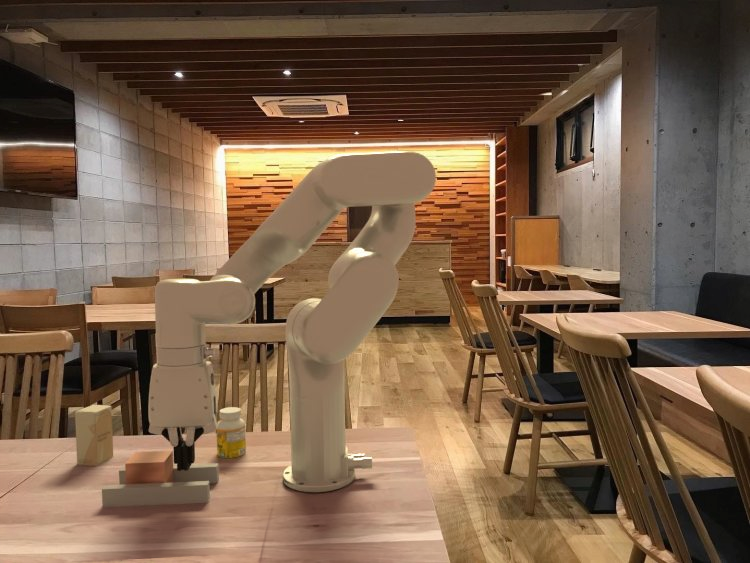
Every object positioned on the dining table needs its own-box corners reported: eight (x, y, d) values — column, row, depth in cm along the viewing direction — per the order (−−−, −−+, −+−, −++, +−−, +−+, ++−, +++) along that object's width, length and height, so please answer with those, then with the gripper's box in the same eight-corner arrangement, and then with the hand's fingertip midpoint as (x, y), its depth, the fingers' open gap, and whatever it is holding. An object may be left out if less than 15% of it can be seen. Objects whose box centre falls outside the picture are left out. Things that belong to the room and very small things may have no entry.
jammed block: (174, 485, 99) (172, 450, 98) (165, 498, 94) (164, 462, 93) (137, 487, 98) (135, 452, 98) (126, 500, 93) (125, 463, 93)
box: (96, 472, 108) (93, 412, 107) (76, 470, 109) (73, 411, 108) (115, 461, 113) (112, 404, 112) (95, 460, 114) (92, 403, 113)
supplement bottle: (248, 461, 112) (247, 411, 112) (219, 466, 110) (217, 415, 109) (243, 452, 117) (241, 404, 117) (215, 456, 115) (213, 408, 114)
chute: (220, 482, 103) (220, 459, 102) (206, 514, 91) (205, 489, 91) (78, 488, 101) (77, 465, 101) (44, 521, 89) (42, 496, 89)
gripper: (232, 350, 99) (235, 457, 100) (141, 352, 98) (144, 460, 99) (224, 359, 92) (227, 475, 93) (125, 361, 90) (129, 478, 92)
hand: (184, 467), depth 96 cm, fingers closed
